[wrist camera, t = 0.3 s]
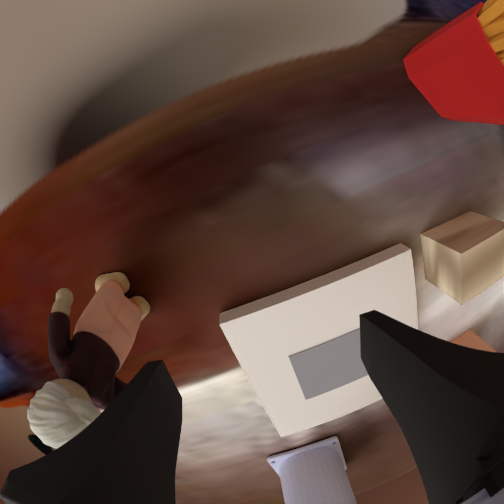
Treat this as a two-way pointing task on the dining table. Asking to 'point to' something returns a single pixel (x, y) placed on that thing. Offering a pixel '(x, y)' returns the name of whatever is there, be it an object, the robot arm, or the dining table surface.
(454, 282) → the birch brick
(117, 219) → the dining table surface
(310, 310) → the tower plate
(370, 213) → the dining table surface
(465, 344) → the terracotta brick
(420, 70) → the french fries
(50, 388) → the grandmother figurine
